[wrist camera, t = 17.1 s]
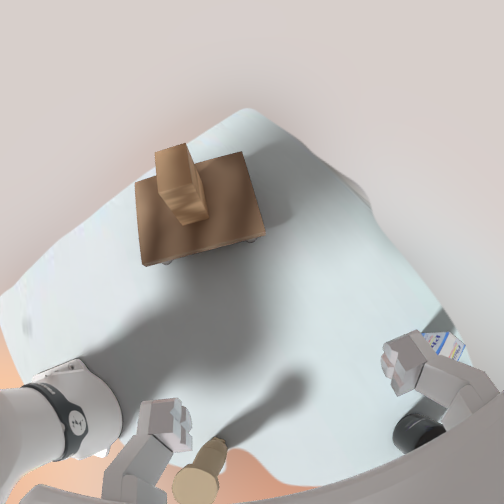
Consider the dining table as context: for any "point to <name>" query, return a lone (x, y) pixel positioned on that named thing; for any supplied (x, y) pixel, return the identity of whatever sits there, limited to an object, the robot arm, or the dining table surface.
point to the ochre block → (180, 184)
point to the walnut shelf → (206, 231)
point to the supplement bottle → (415, 432)
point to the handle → (201, 475)
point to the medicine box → (445, 344)
